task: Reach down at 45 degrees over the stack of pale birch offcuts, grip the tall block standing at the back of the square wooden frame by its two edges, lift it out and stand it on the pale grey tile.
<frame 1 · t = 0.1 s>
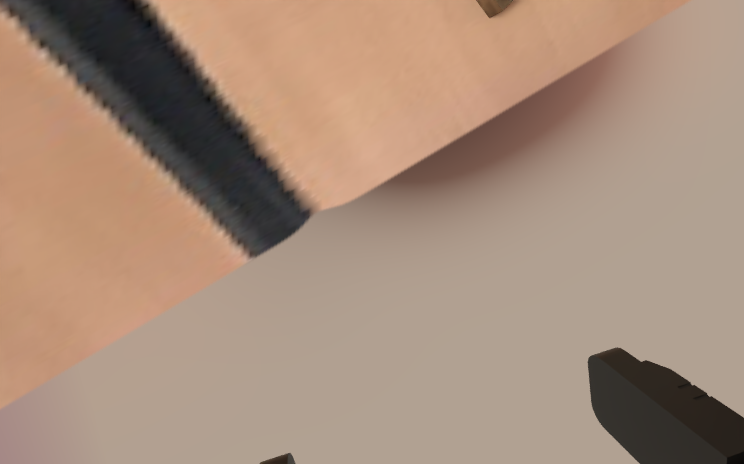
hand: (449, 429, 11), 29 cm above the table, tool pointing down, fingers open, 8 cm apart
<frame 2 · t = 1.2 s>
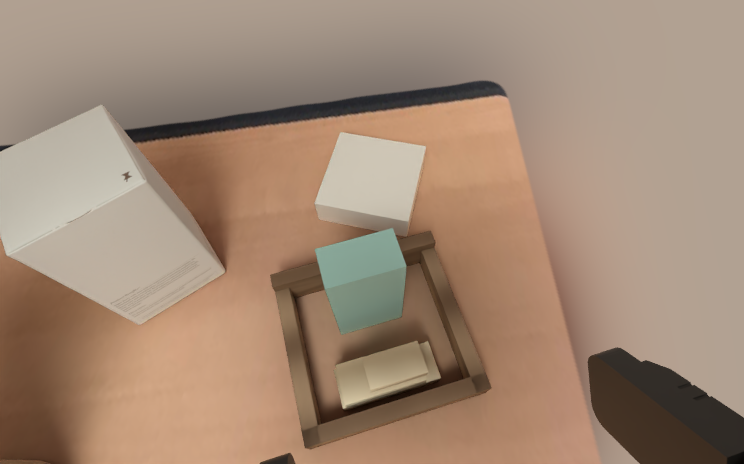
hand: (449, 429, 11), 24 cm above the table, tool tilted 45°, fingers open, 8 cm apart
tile: (373, 191, 44), on the table
square wooden frame: (367, 309, 38), on the table
supplement box: (166, 265, 41), on the table
offcuts: (386, 377, 35), resting in square wooden frame
tall block: (367, 310, 38), resting in square wooden frame
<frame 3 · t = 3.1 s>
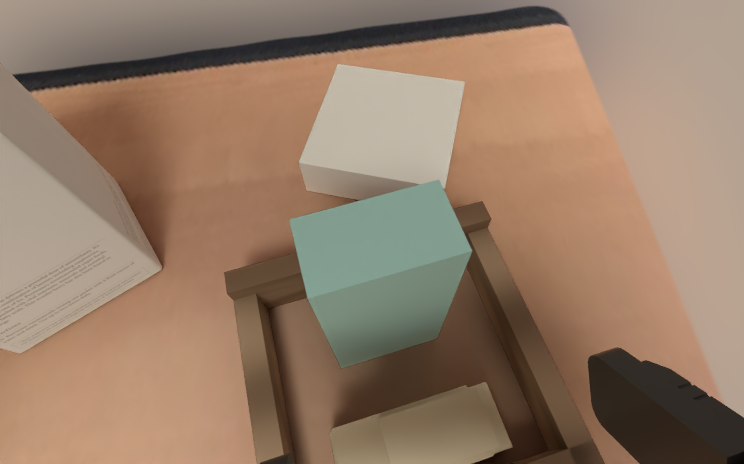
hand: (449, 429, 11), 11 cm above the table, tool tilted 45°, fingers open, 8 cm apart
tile: (386, 150, 30), on the table
square wooden frame: (381, 327, 24), on the table
supplement box: (74, 259, 27), on the table
offcuts: (417, 441, 21), resting in square wooden frame
tall block: (381, 327, 24), resting in square wooden frame
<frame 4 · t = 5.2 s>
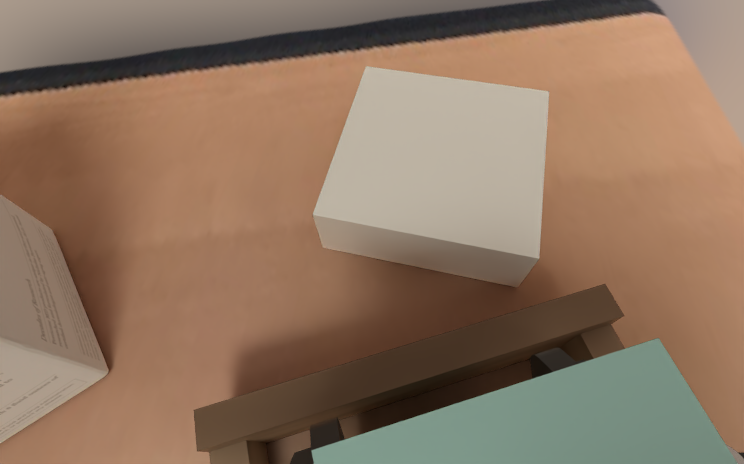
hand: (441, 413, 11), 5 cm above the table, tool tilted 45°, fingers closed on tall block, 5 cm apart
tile: (433, 187, 21), on the table
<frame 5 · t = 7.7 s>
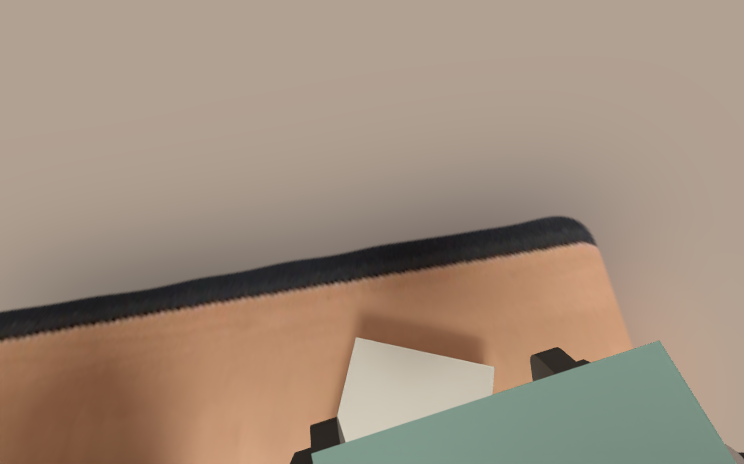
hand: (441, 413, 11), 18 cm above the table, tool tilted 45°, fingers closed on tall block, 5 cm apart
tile: (409, 430, 28), on the table
when the fingers open (9 cm above the table, at t = 10.1 s): tall block stays where it is, resting on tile.
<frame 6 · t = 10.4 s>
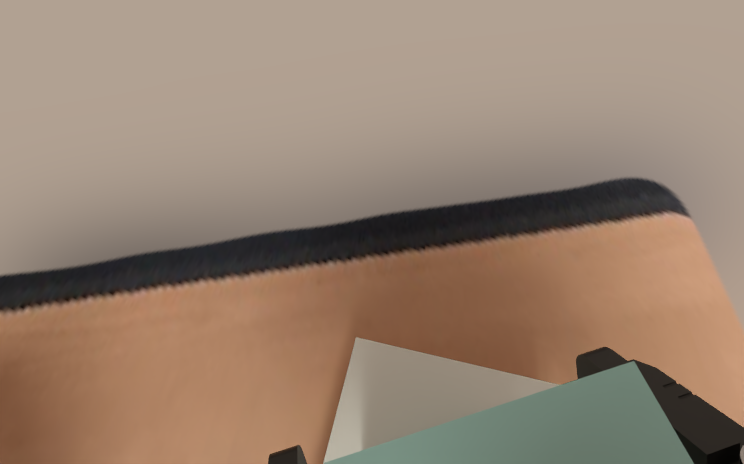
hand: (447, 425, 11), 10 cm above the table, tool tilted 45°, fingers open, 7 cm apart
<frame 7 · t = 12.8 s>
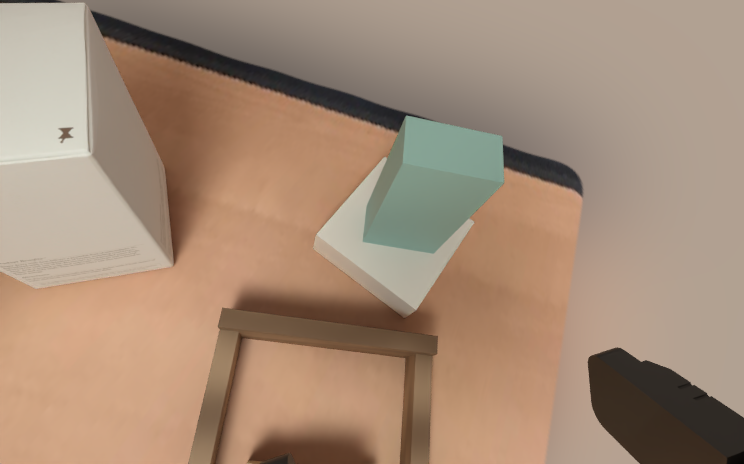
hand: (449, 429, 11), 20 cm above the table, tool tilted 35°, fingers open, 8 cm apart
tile: (389, 242, 35), on the table
square wooden frame: (320, 392, 29), on the table
supplement box: (105, 222, 31), on the table
tall block: (399, 229, 32), point 3 cm above the table, touching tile
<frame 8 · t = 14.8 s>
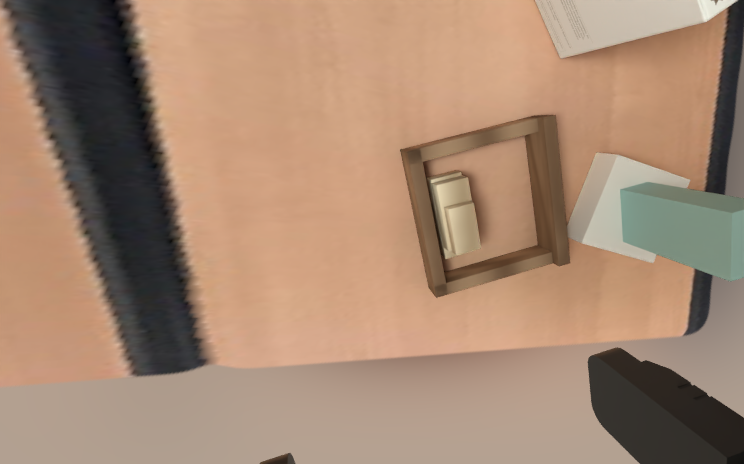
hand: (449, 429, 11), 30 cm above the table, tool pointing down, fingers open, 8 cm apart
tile: (614, 205, 45), on the table
square wooden frame: (504, 197, 42), on the table
offcuts: (447, 213, 42), resting in square wooden frame
tall block: (635, 212, 42), point 3 cm above the table, touching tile
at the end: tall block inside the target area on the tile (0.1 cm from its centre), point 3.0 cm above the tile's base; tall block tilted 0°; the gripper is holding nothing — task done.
